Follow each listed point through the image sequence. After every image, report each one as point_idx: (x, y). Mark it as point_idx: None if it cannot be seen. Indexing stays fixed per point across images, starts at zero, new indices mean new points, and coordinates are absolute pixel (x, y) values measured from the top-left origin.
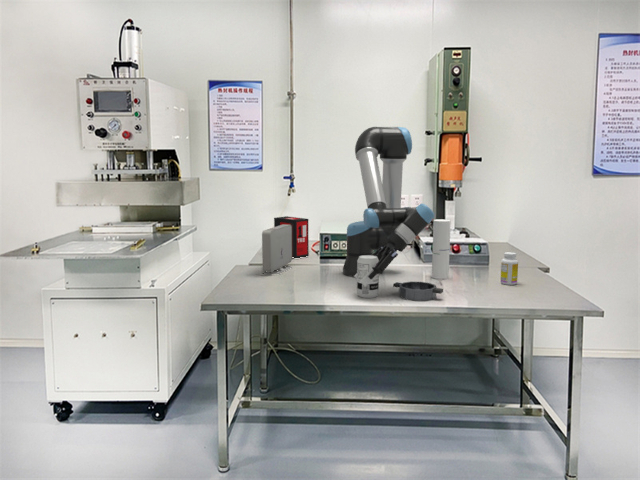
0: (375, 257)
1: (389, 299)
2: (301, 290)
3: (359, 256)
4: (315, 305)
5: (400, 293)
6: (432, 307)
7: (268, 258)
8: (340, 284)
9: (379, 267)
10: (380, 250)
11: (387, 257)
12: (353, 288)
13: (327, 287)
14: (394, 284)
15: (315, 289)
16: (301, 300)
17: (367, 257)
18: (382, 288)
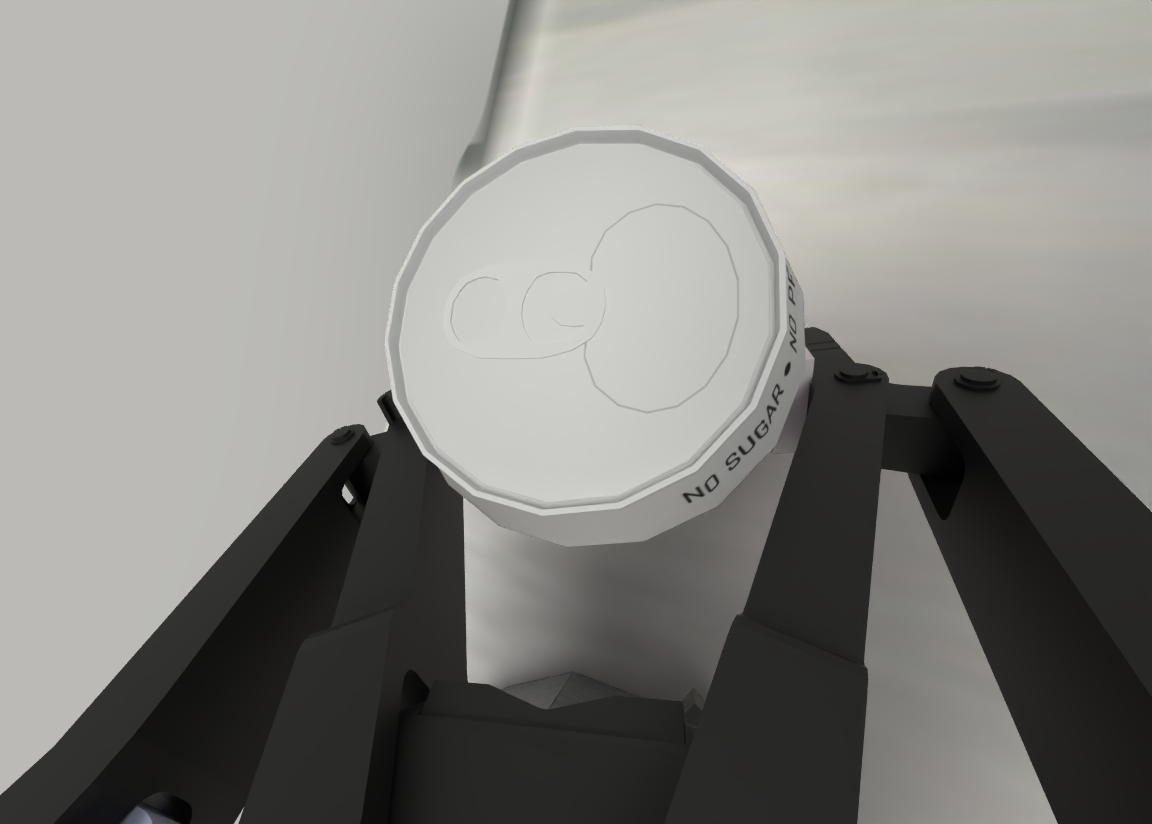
0: (517, 460)
1: (523, 563)
2: (844, 9)
3: (650, 135)
4: (485, 131)
5: (556, 686)
6: None
7: None
8: (1092, 264)
9: (314, 463)
10: (766, 765)
11: (151, 645)
12: (904, 362)
13: (948, 163)
14: (685, 709)
15: (874, 88)
16: (589, 55)
17: (548, 290)
18: (898, 631)
